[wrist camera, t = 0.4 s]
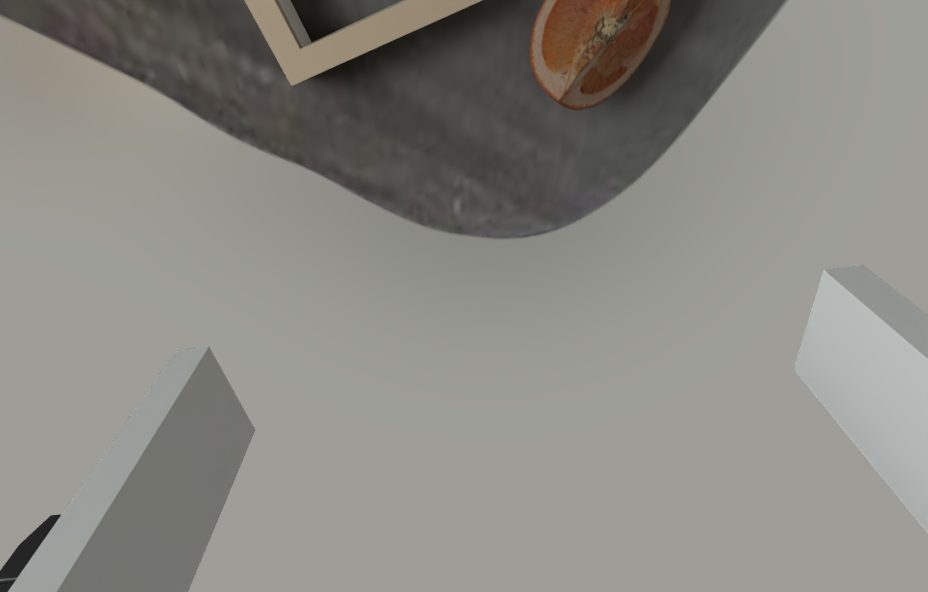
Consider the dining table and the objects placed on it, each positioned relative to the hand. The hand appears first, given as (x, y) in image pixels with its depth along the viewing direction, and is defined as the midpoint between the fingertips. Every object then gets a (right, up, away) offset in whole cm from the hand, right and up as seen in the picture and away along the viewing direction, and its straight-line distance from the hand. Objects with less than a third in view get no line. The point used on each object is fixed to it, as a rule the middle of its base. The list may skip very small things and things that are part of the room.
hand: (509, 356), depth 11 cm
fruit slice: (+7, +18, +19) cm, 27 cm away
